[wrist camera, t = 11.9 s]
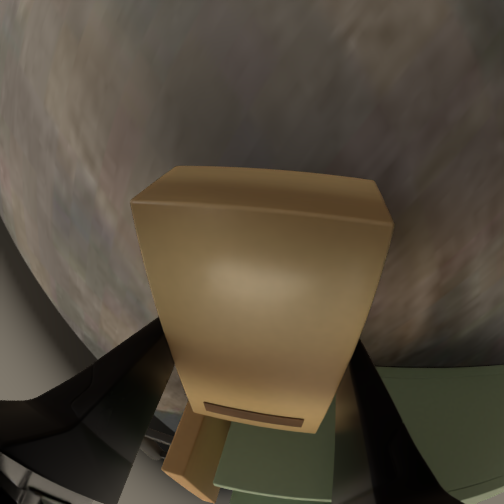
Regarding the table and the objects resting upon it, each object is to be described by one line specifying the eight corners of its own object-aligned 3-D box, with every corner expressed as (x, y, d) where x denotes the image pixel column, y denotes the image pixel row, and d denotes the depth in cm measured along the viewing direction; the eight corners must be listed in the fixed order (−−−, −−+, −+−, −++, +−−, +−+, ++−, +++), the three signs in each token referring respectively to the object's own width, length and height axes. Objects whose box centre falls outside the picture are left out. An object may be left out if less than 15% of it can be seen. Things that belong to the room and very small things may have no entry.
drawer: (173, 422, 25) (149, 482, 19) (131, 342, 17) (80, 433, 11) (369, 452, 21) (364, 517, 15) (435, 384, 14) (444, 491, 8)
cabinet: (317, 444, 23) (304, 526, 16) (360, 365, 15) (353, 517, 8) (451, 440, 21) (453, 511, 13) (534, 360, 13) (559, 459, 5)
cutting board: (175, 164, 8) (126, 202, 6) (375, 179, 7) (397, 226, 5) (208, 370, 14) (192, 413, 11) (320, 387, 13) (315, 435, 10)
